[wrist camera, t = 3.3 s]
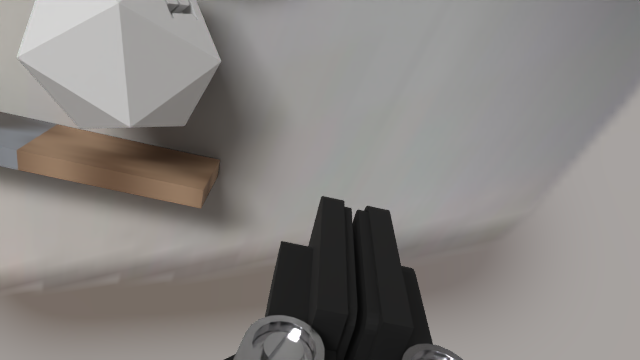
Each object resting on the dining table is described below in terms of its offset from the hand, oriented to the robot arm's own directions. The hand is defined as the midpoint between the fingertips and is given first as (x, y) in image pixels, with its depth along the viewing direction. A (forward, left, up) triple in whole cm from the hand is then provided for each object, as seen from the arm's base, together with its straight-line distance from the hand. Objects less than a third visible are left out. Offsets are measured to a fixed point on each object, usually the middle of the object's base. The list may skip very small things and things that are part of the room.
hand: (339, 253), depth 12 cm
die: (+10, 0, -17) cm, 20 cm away
